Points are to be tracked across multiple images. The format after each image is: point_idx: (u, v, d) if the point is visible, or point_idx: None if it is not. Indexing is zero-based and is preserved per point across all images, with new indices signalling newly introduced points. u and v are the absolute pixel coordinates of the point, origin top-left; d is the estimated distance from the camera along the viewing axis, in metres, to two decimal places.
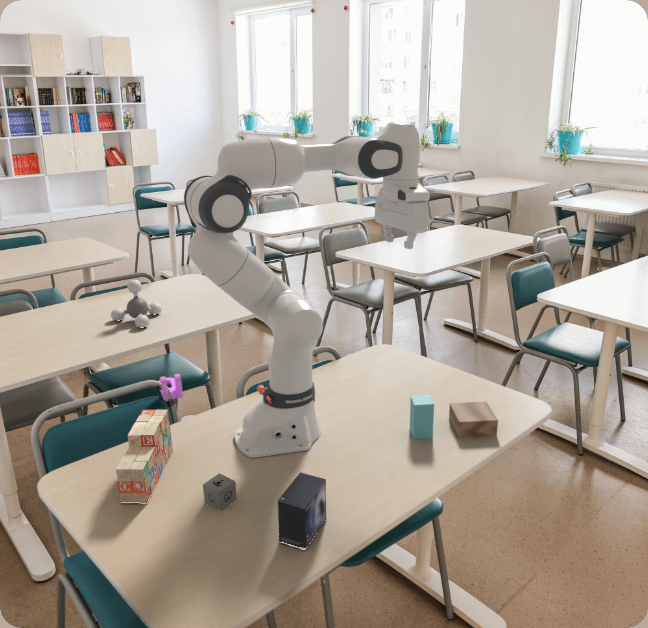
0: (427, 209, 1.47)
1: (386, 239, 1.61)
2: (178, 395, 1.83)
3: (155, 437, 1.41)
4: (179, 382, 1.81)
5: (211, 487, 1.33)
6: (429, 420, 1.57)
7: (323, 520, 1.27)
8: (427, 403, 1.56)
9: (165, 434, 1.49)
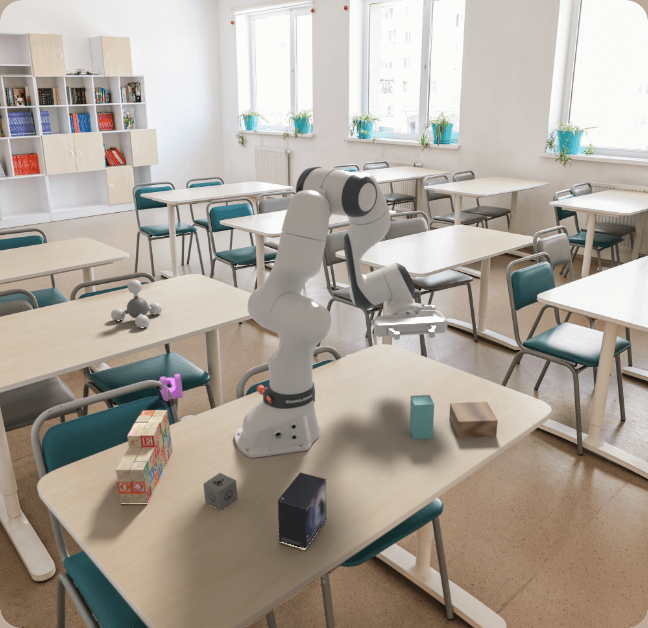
0: None
1: (396, 333, 1.65)
2: (178, 395, 1.82)
3: (154, 437, 1.41)
4: (179, 382, 1.81)
5: (212, 486, 1.33)
6: (429, 420, 1.57)
7: (323, 520, 1.27)
8: (427, 403, 1.56)
9: (165, 434, 1.49)
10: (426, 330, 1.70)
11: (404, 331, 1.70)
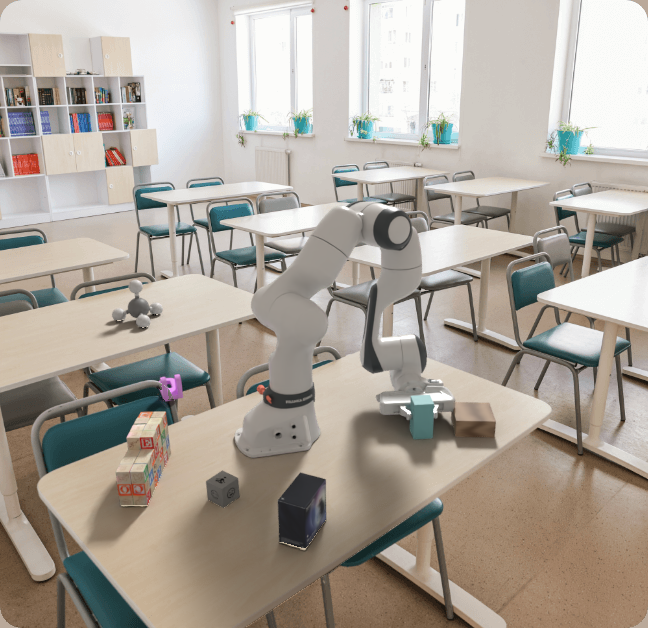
0: None
1: (409, 413, 1.58)
2: (178, 395, 1.82)
3: (154, 439, 1.40)
4: (179, 382, 1.81)
5: (214, 484, 1.34)
6: (429, 420, 1.57)
7: (323, 520, 1.27)
8: (427, 403, 1.56)
9: (163, 436, 1.49)
10: None
11: None
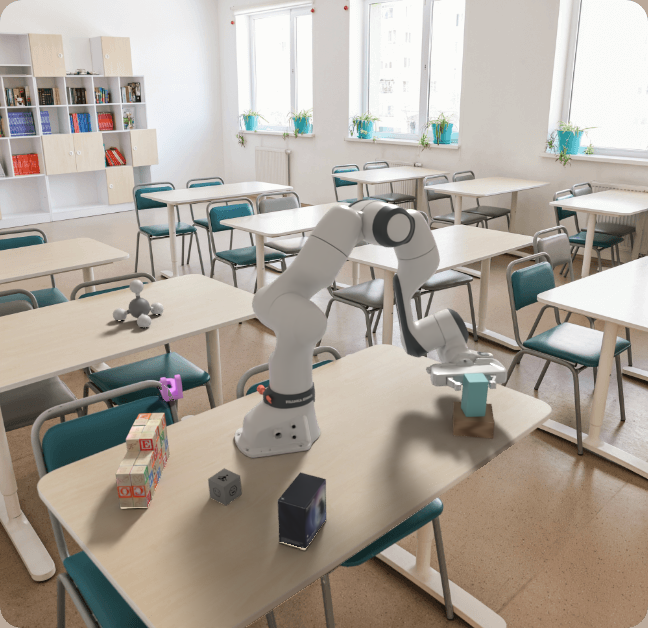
0: None
1: (458, 383, 1.59)
2: (178, 396, 1.82)
3: (153, 440, 1.40)
4: (179, 383, 1.81)
5: (216, 482, 1.35)
6: (482, 397, 1.58)
7: (323, 520, 1.27)
8: (481, 381, 1.56)
9: (162, 437, 1.48)
10: None
11: None
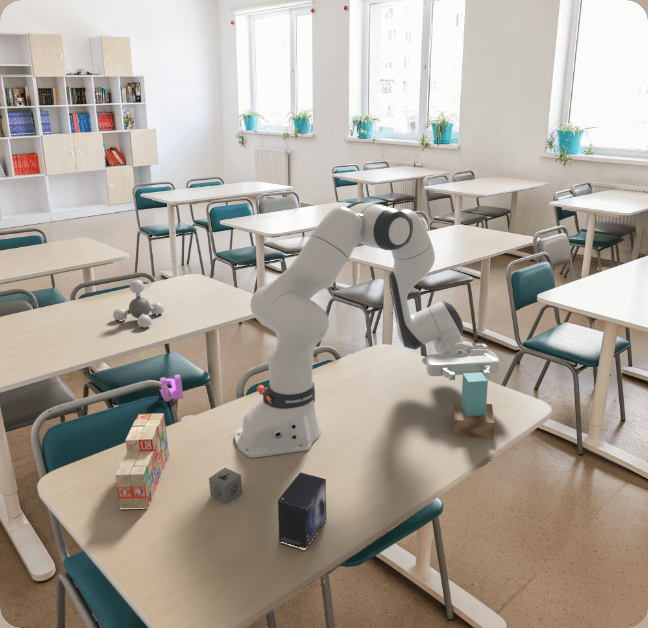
0: None
1: (452, 373, 1.64)
2: (178, 396, 1.82)
3: (153, 441, 1.40)
4: (179, 383, 1.81)
5: (217, 481, 1.35)
6: (482, 397, 1.58)
7: (323, 520, 1.27)
8: (481, 380, 1.57)
9: (162, 438, 1.48)
10: (479, 370, 1.69)
11: (457, 371, 1.69)
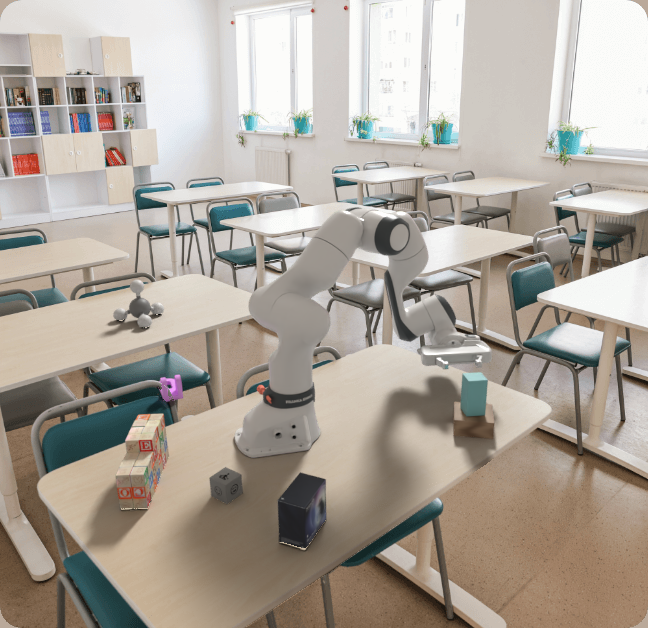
0: None
1: (445, 363, 1.71)
2: (178, 396, 1.82)
3: (153, 441, 1.39)
4: (179, 383, 1.81)
5: (218, 480, 1.35)
6: (482, 396, 1.58)
7: (323, 520, 1.27)
8: (481, 379, 1.57)
9: (162, 438, 1.48)
10: (472, 360, 1.76)
11: (451, 361, 1.76)
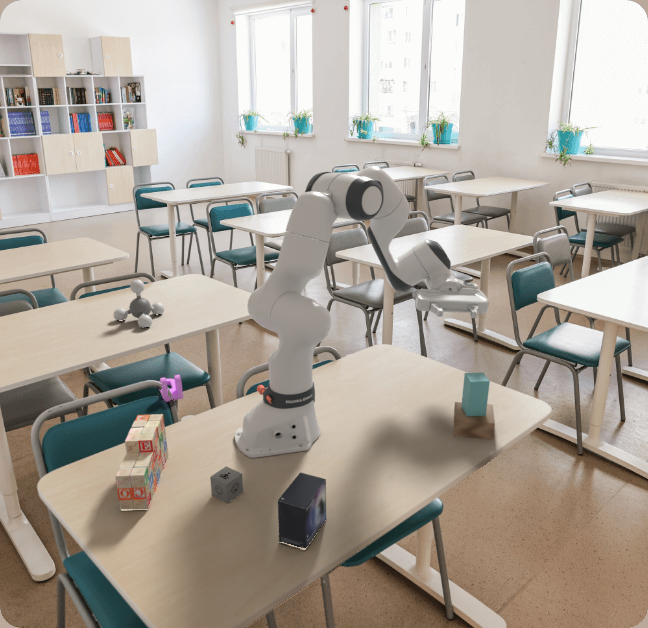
0: None
1: (440, 310, 1.65)
2: (178, 396, 1.82)
3: (152, 442, 1.39)
4: (179, 383, 1.81)
5: (218, 479, 1.36)
6: (483, 397, 1.58)
7: (323, 520, 1.27)
8: (483, 380, 1.57)
9: (161, 439, 1.47)
10: (467, 309, 1.71)
11: (446, 308, 1.70)
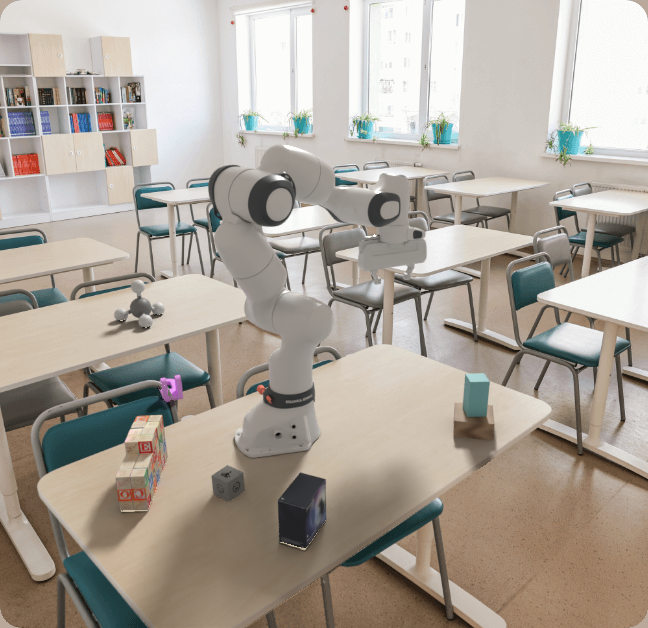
0: None
1: (378, 282, 1.70)
2: (178, 396, 1.82)
3: (152, 443, 1.39)
4: (179, 383, 1.81)
5: (220, 478, 1.36)
6: (483, 397, 1.57)
7: (323, 520, 1.27)
8: (483, 380, 1.56)
9: (161, 440, 1.47)
10: None
11: None
